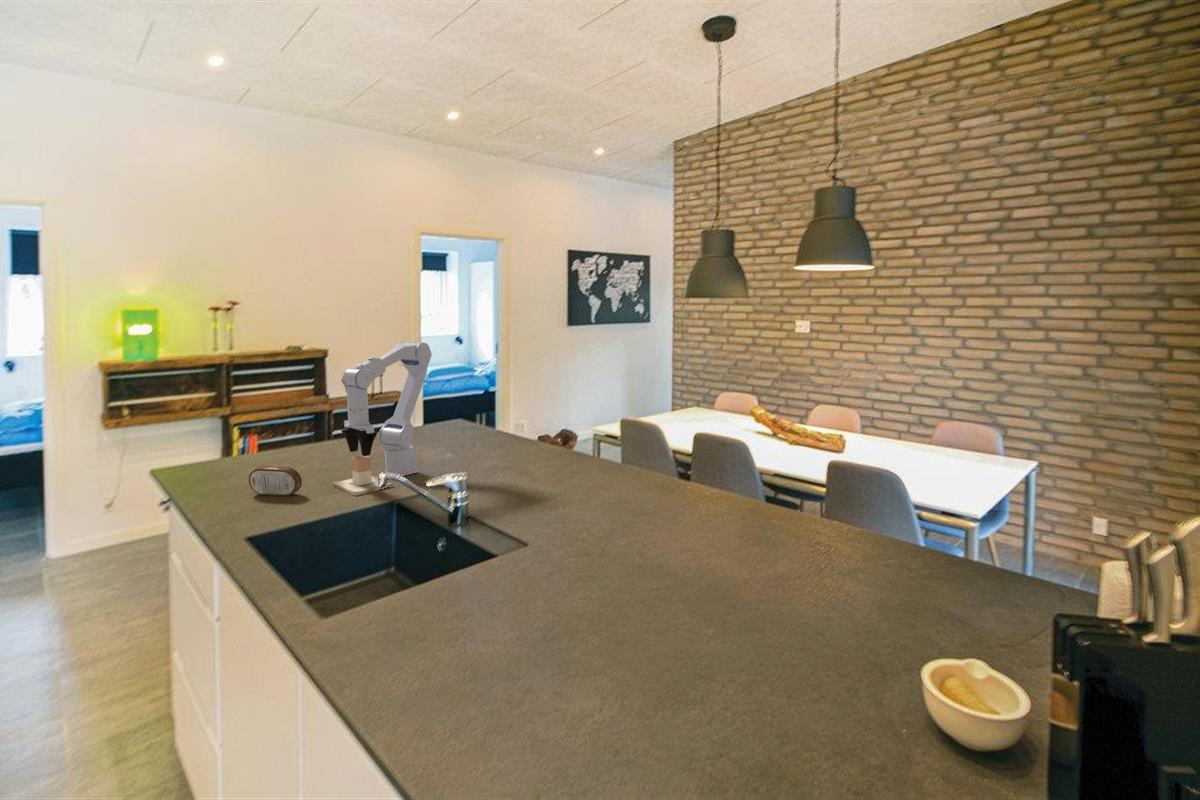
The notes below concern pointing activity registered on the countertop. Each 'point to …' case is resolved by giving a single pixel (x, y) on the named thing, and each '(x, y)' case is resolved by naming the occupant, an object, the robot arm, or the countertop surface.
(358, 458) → the block top
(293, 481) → the tin
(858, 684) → the countertop surface
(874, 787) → the countertop surface
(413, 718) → the countertop surface
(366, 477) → the block base
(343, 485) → the base board
